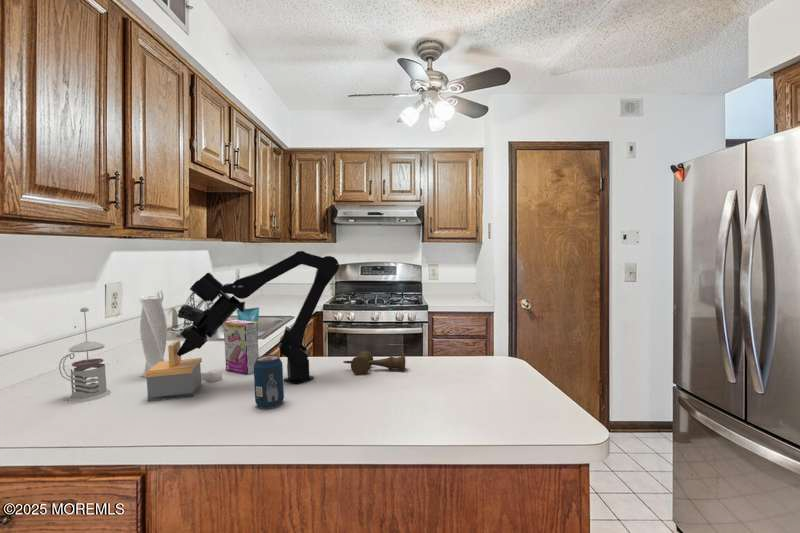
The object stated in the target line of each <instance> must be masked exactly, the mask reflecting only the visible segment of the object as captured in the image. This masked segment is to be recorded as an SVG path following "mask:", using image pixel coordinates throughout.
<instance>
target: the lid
mask: <svg viewBox="0 0 800 533" xmlns="http://www.w3.org/2000/svg"><path fill="white" fill-rule="evenodd" d="M167 348H168V350H167V351H168V360H164V361H161V362H158V363H157V364H156V365H154V366H153V367H152V368H151V369H149V370H148V371H147V373H146V377H156V376H166V375H177V374H187V373H192V372H193V371H192V370H193V369H194V368H195V367H196V366H197V365H198V363H199V362H200V363H202V362H203V360H202V357H197V358H195V357H194V358H187V359H185V358H184V359H182V356H178V355H177V353H178V351H179V349H180V348H181V340H174V341H173V342H171V343H170V344H169V345H167Z"/></svg>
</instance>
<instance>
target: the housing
mask: <svg viewBox="0 0 800 533" xmlns="http://www.w3.org/2000/svg"><path fill="white" fill-rule="evenodd" d="M201 369H202V368H201V362H199V363H198V365H197V366H196V367H195V368H194V369H193V370H192V371H193V372H192V373H187V374H177V375H166V376H156V377H147V378H146V388H147V389H146V390H147V391H146V392H147V402H154V401H153V400H157V401H163V400H162V399H166V400H171V398H175V399H180V398H179V397H184V398H190V397H189V396H193V397H194V396H195V395H194V394H196V393H197V392H198V391H199V390H200V388H201V387H202V380H201V372H202V371H201ZM197 390H198V391H197ZM196 391H197V392H196Z"/></svg>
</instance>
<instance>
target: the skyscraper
mask: <svg viewBox="0 0 800 533" xmlns="http://www.w3.org/2000/svg"><path fill="white" fill-rule="evenodd" d="M160 294H161V296H160ZM139 301H140V304H141V306H142V307H141V312H140V320H139V322H140V324H139V326H140V327H139V329H140V330H139V333H140V341H141V345H142V349H143V350H142V351H143V354H144V356H145V360H146V362H145V367H144V370H143V371H144V372H143V375H141V376H140V377H141V378H144V379H145V378H146V379H147V377H146V373H147V371H148V370H149V369H151V368H152V367H153V366H154V365H156V364H157V363H158V362H161V361H165V359H164V357H165V352H166V348H167V340H168V339H167V338H168V326H167V318H166V314H165V310H164V307H163V301H164V293H163V291H162V290H158V291H157V293H156V294H150V295H147V297H146V296H145V295H142V296H140V297H139Z"/></svg>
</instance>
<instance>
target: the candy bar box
mask: <svg viewBox="0 0 800 533" xmlns="http://www.w3.org/2000/svg"><path fill="white" fill-rule="evenodd" d="M258 335H259V334H258ZM258 335H257V322H252V321H243V320H238V319H232V320H226V321H225V322H224V323H223V337H224V338H223V339H224V340H223V341H224V354H225V356H224V357H225V371H226V372H227V371H228V372H233V373H238V374H242V373H243V374H244V375H247V374H248V375H252V374H254V364H255V362H256V358H258V357H260V356H259V340H258V337H259V336H258ZM251 373H252V374H251ZM243 374H242V375H243Z"/></svg>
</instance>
